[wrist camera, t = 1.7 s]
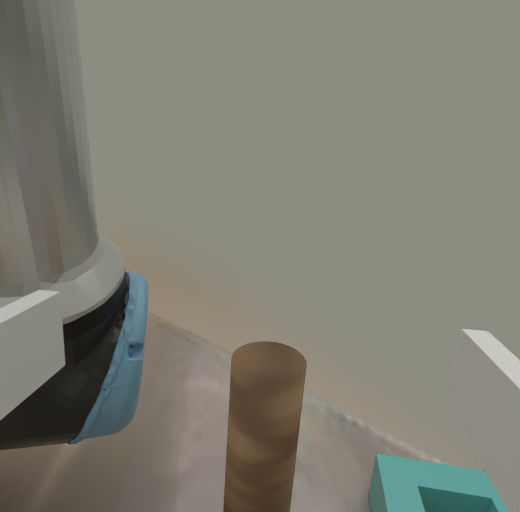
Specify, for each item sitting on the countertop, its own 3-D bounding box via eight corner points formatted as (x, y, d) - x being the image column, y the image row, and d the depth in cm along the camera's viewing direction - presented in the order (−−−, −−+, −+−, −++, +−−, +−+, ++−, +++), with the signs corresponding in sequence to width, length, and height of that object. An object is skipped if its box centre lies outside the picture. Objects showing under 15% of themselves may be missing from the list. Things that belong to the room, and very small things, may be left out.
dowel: (211, 630, 26) (223, 376, 21) (226, 563, 31) (239, 337, 25) (275, 643, 26) (305, 387, 20) (281, 574, 30) (307, 346, 25)
